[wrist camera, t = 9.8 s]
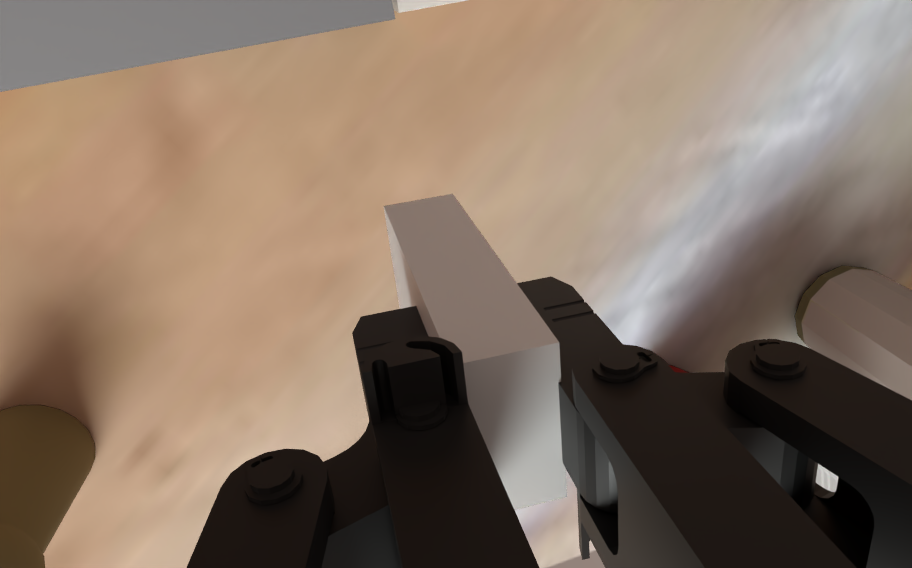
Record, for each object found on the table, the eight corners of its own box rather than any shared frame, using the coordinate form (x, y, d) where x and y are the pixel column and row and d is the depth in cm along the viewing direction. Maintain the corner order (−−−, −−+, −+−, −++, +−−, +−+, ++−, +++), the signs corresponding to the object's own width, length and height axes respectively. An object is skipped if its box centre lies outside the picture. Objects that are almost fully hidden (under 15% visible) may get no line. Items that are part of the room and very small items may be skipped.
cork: (-43, 413, 39) (-146, 573, 29) (82, 397, 40) (24, 545, 30) (-11, 504, 41) (-96, 679, 31) (105, 486, 42) (59, 649, 33)
